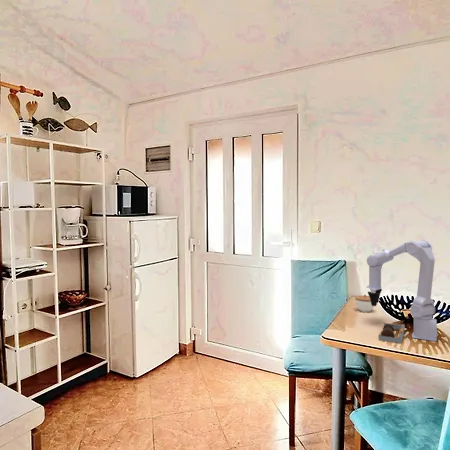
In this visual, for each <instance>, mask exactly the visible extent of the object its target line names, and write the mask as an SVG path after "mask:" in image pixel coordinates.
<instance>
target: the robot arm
mask: <svg viewBox="0 0 450 450" xmlns="http://www.w3.org/2000/svg"><path fill="white" fill-rule="evenodd" d="M404 253H408V255H410V256H411V257H413V258H415V259H417V261H418V262H419V264H420V265H419V273H418V274H419V275H418V282H417V292H416V297H415V298H414V299H413V301H412V305H411V306H410V308H409V309H410V314H411V316H412V318H413V332H412V337H411V338H412V339H418V340H425V341H432V342H437V339H438V338H437V337H438V332H437V330H438V329H437V328H438V327H437V326H438V324H437V323H438V322H437V321H438V320H437V319H436V318H433V316H434V314H435V313H436V307H435V300H433V299H432V290H433V289H432V287H433V278H434V271H435V270H434V269H435V256H434V253H433V246H432V244H430V243H429V241H427V240H425V239H422V240H410V241H406V242H404V243H401V244H400V245H398V246H397V247H395V248H392V249H391V250H390V249H386V248H384V249H382V251H380V252H375V254H373V255H372V254H371V255H369V256H367V258H366V263H367V266H368V274H369V275H368V285H366V288H368V289H369V290H370V291H367V294H368V295H367V296H369V297H370V300H371V305H372V306H374V307H377V305H378V303H379V301H380V296H381V294H382V293H381V292H382V291H383V289H382V268H383V265H384V264H386V263H388V262H390V261H393V260H394V257H397V256H399V255H401V254H404Z"/></svg>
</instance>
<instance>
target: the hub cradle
mask: <svg viewBox="0 0 450 450" xmlns="http://www.w3.org/2000/svg"><path fill="white" fill-rule="evenodd" d="M385 324H391V325H392V326H393V328H394V330H398V329H400V330H399V331H398V337H397V336H395V337H391V336H384V335H381V334H378V341H383V342H389V343H395V344H396V343H397V344H403V343H402V342H403V338H404V334H405V330H404V329H405V324H403V323H402V324H395V323H386V322H384V323H383V327H384V326H385Z"/></svg>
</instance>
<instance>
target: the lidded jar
mask: <svg viewBox="0 0 450 450" xmlns="http://www.w3.org/2000/svg"><path fill="white" fill-rule="evenodd" d="M354 300H355V301H354V302H355V305H356V308H357V309H358V310H359V311H360V312H363V313H370V312H372V310H374V308H375V306H372V305H371V300H370V297H369V295H366V294H364V295H356V296H355V299H354Z"/></svg>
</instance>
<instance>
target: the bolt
mask: <svg viewBox="0 0 450 450" xmlns="http://www.w3.org/2000/svg"><path fill="white" fill-rule="evenodd" d="M391 324H392V323H389V324H385V326H384V325H383V327H382V331H381V333H380V335H384V336H391V337H396V334H395V332H394V331H395V329H394V328H393V326H392V325H391Z"/></svg>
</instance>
